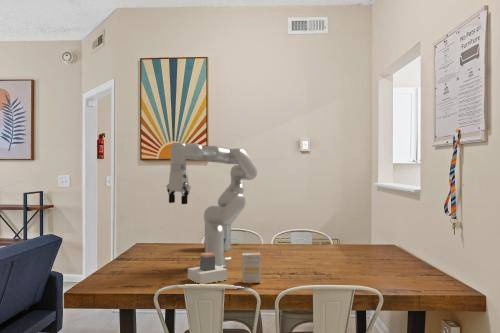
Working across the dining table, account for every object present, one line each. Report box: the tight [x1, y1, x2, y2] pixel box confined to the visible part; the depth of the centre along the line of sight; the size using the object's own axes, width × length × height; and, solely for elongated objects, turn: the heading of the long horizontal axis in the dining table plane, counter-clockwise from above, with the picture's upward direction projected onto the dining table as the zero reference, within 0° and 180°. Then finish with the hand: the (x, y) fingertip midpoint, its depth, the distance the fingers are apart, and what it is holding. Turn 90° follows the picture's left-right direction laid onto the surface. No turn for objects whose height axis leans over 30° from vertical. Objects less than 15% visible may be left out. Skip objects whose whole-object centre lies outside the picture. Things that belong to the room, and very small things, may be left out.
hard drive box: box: [204, 223, 232, 252], centre depth 257 cm, size 16×8×20 cm, turn 73°
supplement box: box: [241, 252, 262, 285], centre depth 183 cm, size 8×5×13 cm, turn 92°
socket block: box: [187, 265, 228, 285], centre depth 186 cm, size 14×12×5 cm
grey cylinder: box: [199, 252, 215, 271], centre depth 186 cm, size 5×5×12 cm
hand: (178, 203), depth 196 cm, fingers open, 9 cm apart
